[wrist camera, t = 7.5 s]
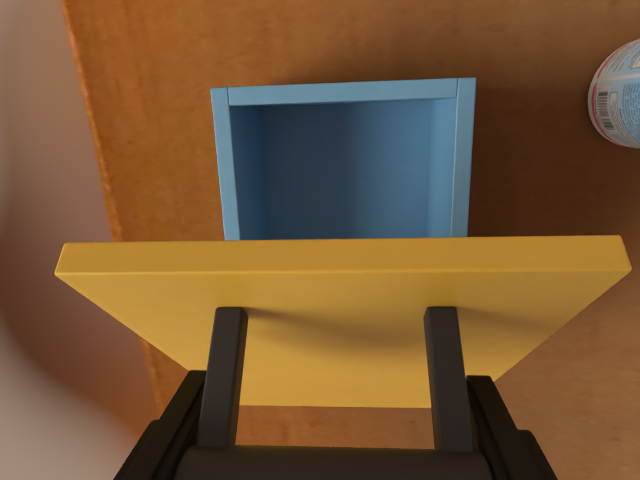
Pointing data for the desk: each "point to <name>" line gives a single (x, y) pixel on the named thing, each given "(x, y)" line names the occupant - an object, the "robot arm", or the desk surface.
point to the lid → (343, 332)
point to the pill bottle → (618, 96)
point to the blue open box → (345, 159)
